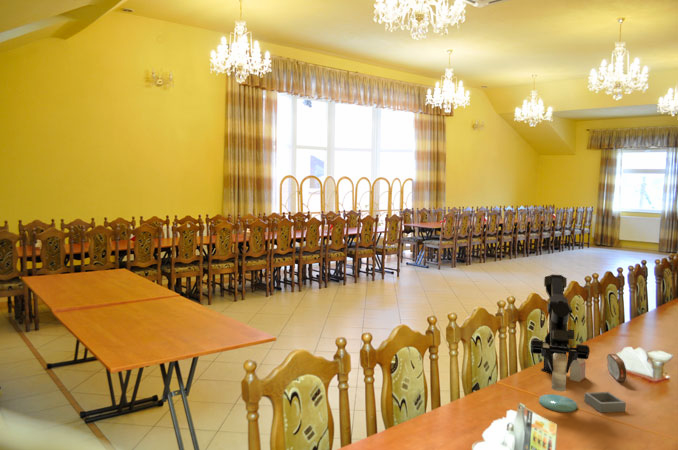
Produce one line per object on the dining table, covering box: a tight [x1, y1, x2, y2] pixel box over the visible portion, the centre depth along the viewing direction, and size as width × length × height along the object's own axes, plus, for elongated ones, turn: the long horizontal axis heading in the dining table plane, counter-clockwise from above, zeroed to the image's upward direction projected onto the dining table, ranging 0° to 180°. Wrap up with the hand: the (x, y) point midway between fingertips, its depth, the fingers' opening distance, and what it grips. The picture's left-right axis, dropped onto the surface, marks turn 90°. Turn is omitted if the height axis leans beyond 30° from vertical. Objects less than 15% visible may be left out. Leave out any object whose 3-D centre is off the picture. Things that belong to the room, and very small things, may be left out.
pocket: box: [583, 391, 627, 413], centre depth 173 cm, size 9×9×3 cm
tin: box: [606, 353, 627, 382], centre depth 200 cm, size 15×3×8 cm, turn 168°
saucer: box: [538, 394, 578, 413], centre depth 174 cm, size 12×12×1 cm
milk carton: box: [569, 358, 587, 383], centre depth 198 cm, size 4×7×10 cm, turn 138°
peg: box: [551, 353, 568, 392], centre depth 174 cm, size 4×4×12 cm
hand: (559, 371), depth 172 cm, fingers closed on peg, 4 cm apart
